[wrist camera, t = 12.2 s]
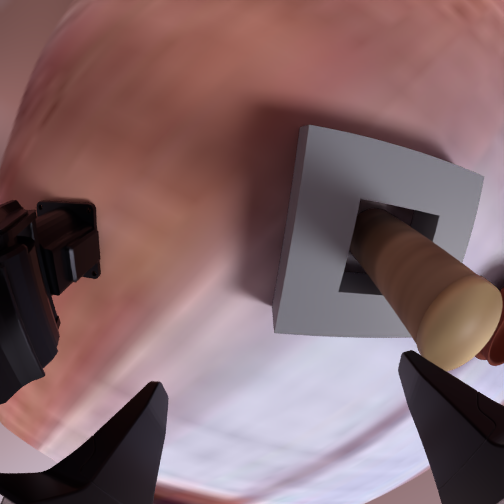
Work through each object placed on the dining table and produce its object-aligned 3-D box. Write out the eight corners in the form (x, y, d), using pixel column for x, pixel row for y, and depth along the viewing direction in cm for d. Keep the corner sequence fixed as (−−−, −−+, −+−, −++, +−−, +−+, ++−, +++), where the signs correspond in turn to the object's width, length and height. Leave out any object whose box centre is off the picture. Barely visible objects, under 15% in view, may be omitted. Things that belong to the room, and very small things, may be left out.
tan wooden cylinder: (335, 249, 21) (405, 362, 10) (364, 196, 20) (472, 267, 8) (379, 271, 22) (458, 377, 10) (408, 223, 21) (513, 303, 9)
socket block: (271, 306, 23) (274, 333, 20) (299, 127, 18) (309, 124, 15) (415, 315, 24) (431, 336, 21) (458, 169, 19) (484, 176, 15)
